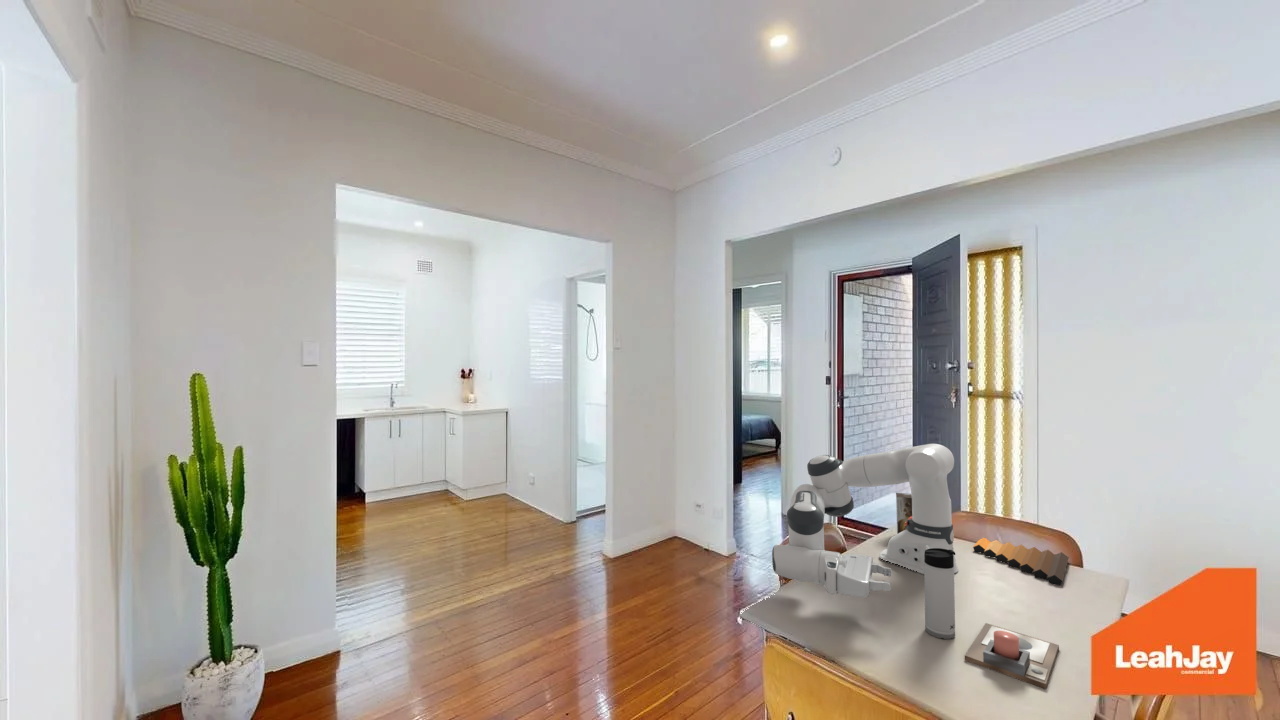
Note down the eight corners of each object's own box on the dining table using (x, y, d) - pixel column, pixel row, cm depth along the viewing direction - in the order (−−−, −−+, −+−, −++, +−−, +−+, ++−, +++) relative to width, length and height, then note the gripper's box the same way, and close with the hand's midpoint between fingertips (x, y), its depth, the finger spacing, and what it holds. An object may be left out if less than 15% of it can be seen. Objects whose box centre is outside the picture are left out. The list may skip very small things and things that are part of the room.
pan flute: (1062, 588, 146) (1068, 563, 164) (1062, 576, 146) (1068, 553, 164) (963, 565, 164) (978, 545, 182) (963, 555, 164) (978, 536, 182)
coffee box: (923, 537, 190) (922, 494, 190) (925, 542, 184) (924, 498, 184) (896, 533, 193) (895, 492, 194) (897, 539, 187) (896, 496, 188)
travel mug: (961, 641, 117) (959, 555, 118) (930, 638, 119) (929, 553, 119) (950, 627, 123) (949, 546, 124) (921, 625, 125) (920, 544, 125)
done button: (991, 654, 107) (991, 635, 107) (996, 646, 110) (996, 628, 110) (1017, 663, 104) (1016, 643, 104) (1021, 654, 107) (1020, 635, 107)
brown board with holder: (964, 660, 110) (964, 645, 110) (985, 626, 124) (985, 613, 124) (1045, 689, 100) (1045, 672, 100) (1058, 649, 114) (1058, 635, 114)
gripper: (837, 567, 142) (891, 576, 135) (827, 596, 124) (890, 608, 117) (837, 545, 142) (891, 553, 135) (827, 570, 124) (889, 581, 117)
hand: (891, 579), depth 126 cm, fingers open, 8 cm apart
